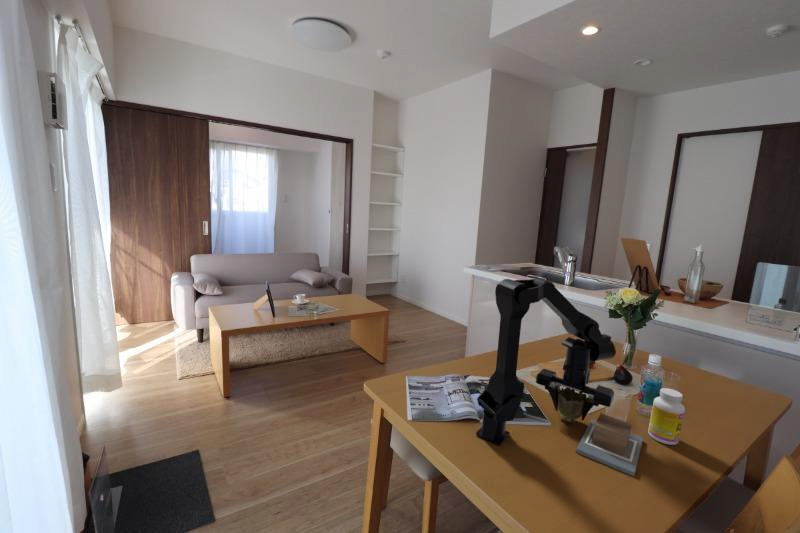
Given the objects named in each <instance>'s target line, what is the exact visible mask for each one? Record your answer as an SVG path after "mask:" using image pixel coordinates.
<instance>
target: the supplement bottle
mask: <svg viewBox="0 0 800 533" xmlns="http://www.w3.org/2000/svg"><path fill="white" fill-rule="evenodd" d="M682 401H683V394H682V393H681V392H679V391H678V390H675V389H672V388H669V387H662V388H660V390H659V396H657V397H655V398H654V399H653V402H652V403H653V404H652V408H651V413H650V417H649V425H648V430H647V431H648V432H647V433H648V434H649V436H650V437H651V438H652V439H653V440H655V441H657V442H659V443H661V444H663V445H664V444H665V445H668V446H670V445H671V446H674V445H677V444H679V443H680V442H679V441H680V438H681V433H682V426H683V421H684V416H685V411H686V408H685V406H684V405H683V403H681V402H682Z"/></svg>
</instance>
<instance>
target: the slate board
mask: <svg viewBox="0 0 800 533" xmlns="http://www.w3.org/2000/svg"><path fill="white" fill-rule="evenodd" d="M596 421H597V419H596V420H595V419H591V420H590V422H589V424H588V425H587V427H586V430H585V431H584V433H583V436H582V438H581V439H580V441H579V443H578V445H577V447H576V451H575V453H577V454H578V455H582V456H584V457H587V458H588V459H591V460H593V461H597V462H598V463H601V464H603V465H606V466H608V467H610V468H612V469H615V470H618V471H619V472H622V473H623V474H627V475H629V476H631V477H635V475H636V471H637V470H636V469H637V467H638V466H637V465H638V462H639V458H640V454H641V450H642V445H643V439H644V437H643V436H640V435H637V434H635V433H631V432H630V438H629V443H628V446H627V450H626V453H625V456H623V455H621V454H618V453H616V452H613V451H611V450H608V449H606V448H603V447H600V446H598V445H595V444H593V443H592V440H593V434H594V427H595V423H596Z"/></svg>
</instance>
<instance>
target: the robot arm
mask: <svg viewBox="0 0 800 533" xmlns="http://www.w3.org/2000/svg"><path fill="white" fill-rule="evenodd" d="M494 292H495V294H494V295H495V304H496V306H497V310H498V312H499V315H500V316H499V317H500V319H499V330H498V331H499V332H498V340H497V341H498V343H497V352H496V363H495V364H496V365H495V371H494V372H493V373H492V375H491V376H490V377H489V379H488V384H487V387H486V388H485V389H484V390H483V391H482V392H481V393H480V395H479V396H478V397H477V398H476V401H477V405H478V406H479V407H481V408H482V409H483V412H482V422H481V427H480V428H479V429H478V430H477V431H476V432H475V436H477V437H480V438H481V439H484V440H486V441H488V442H490V443H492V444H495V445H496V446H502V444H503V443H504V442H505V440H507V438H508V437H509V436H510V431H507V430H506V425H507V422H512V421H513V420H514V419H515V416H516V414H517V411H518V410H519V407H520V406H521V403H522V400H524V389H525V383H524V381H522V380H520V379H519V378H518V376H517V370H518V360H519V359H518V358H519V350H520V339H521V329H522V321H523V318H524V317H525V315H526V314H527V313H528V312H529V310H530V306H531V304H535V303H539V302H540V301H541V300H542V301H543V303H545V304H546V305H547V307H548V308H550V309H551V310H552V312H554V314H556V315H557V316H558V317H559V318H560V320H561V325H562V326H563V328H564V329H565V331H566V332H567V334H570V335H572V336H574V337H576V338H572V337H570V336H569V337H567V338H566V339H564V340H562V341H561V345H562V346H564V347H566V354H565V359H564V362H563V366H562V370H563V375H562V376H563V378H561V377H558V376H557V372H556V371H553V370H549V369H547V368H543V369H541V370H540V371H539V372H537V374H536V377H535V383H536V384H537V385H539V386H540V385H541V386H543V387H544V390H547V391H548V393H549V395H550V397H551V401H552V404H553V407H554V410H555V412H558V411H559V409H558V390H559V389H561V387H563V388H570V389H571V390H572V389H573V390H575V392H578V393H579V392H582V393H583V394H586V395H588V396H587V397H588V399H587V400H586V403H585V406H584V410H583V414H582V416H581V421H584V420H585V418H586V416H587V415H588V413H589V412H590V411H591V409H592V408H593V407H594V406H595V407H599V406H600V405H601V406H603V407H606V408H610V407H611V405H612V403H613V402H614V397H615V391H614V390H613V388H610V387H606V386H602V385H600V384H598V385H597V386H596V388H595V387H591V386H587V385H588V384H589V381H590V375H591V371H592V370H591V369H590V368H589V366H590V361H592V362H598V361H603V360H604V361H605V360H611V359H614V357H615V356H616V353H617V350H616V347H615V344H614V342H612V336H611V335H609V334H605V333H602V332H601V330H600V329H599V328H600V324H599V322H598V321H597V320H595V319H593V318H592V317H590V316H588V315H587V314H584V313H583V312H581V311H580V310H578V309H577V308H576V307H575V306H574V305H573V304H572V303H571V302H570V301H569V300H568V299H567V298H566V296H564V294H562V292H560V290H558V288H556V286H555V284H554V283H553V282H552V281H550V280H547V279H544V278H540V277H538V278H531V279H510V278H504V279H502V280H501V281H500V282H499V283H497V285H496V287H495V291H494Z"/></svg>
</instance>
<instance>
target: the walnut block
mask: <svg viewBox="0 0 800 533" xmlns="http://www.w3.org/2000/svg"><path fill="white" fill-rule="evenodd" d="M632 426H633V424H632V423H631V422H627V421H625V420H623V419H619V418H615V417H613V416H610V415H607V414H605V413H601V412H600V414H599V416H598V417H597V419H596V423H595V427H594V434H593V440H592V443H593V444H595V445H598V446H600V447H603V448H606V449H608V450H611V451H613V452H616V453H618V454H621V455H623V456H625V453H626V450H627V446H628V443H629V438H630V433H631V431H632Z"/></svg>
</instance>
